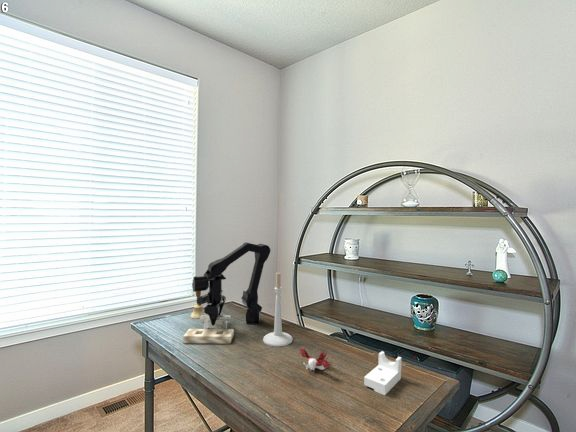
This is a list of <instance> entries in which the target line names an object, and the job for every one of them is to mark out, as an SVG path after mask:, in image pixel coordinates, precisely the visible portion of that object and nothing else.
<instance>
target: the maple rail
mask: <svg viewBox="0 0 576 432" xmlns="http://www.w3.org/2000/svg"><path fill="white" fill-rule="evenodd" d="M234 333H235V331H234V328H227V329H223V328H208V329H204V328H189V329H187V331H186V332H185V333H184V335H183V336H182V338H183V339H182V341H183V344H224V345H225V344H226V345H228V344H229V345H230V344H231V343H232V341H233V338H234V336H235V335H234Z"/></svg>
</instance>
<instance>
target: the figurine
mask: <svg viewBox="0 0 576 432" xmlns="http://www.w3.org/2000/svg"><path fill="white" fill-rule="evenodd" d="M299 354H300V355H301V356H302V357H303V358H306V359H307V361H308V362H307V363H308V364H307V363H305V362H303V365H304V366H305V367H306V368H305V369H306V370H308V369H310V370H309V371H310V372H311V371H313V372H312V374H314V372H315V371H314V370H315V369H319V370H320V371H322V370H325V369H327V368H330V366H332V364H333V363H334V362H332V361H328V360H329V356H327V354H328V352H326V353H325V351H322V350H320V352H319V355H318V357H317V358H314V357H312V356H311V355H309V354H308V352H307V350H306V345H303V347H300V349H299ZM306 370H305V371H306Z"/></svg>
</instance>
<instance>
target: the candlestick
mask: <svg viewBox="0 0 576 432" xmlns="http://www.w3.org/2000/svg"><path fill="white" fill-rule="evenodd" d="M281 275H282V273H281V272H276V273H275V287H274V288H273V289H274V290H275V291H274V292H275V305H274V306H275V308H274V325H273V326H274V327H273V332H269V333H267V334H265V336H263V339H262V342H263V343H264V344H266V345H267V346H269V347H270V346H271V347H278V348H279V347H285V346H288V345H290V344H292V342H293V340H294V339H293V336H291V335H290V334H289V333H287V332H284V331H283V327H282V326H283V325H282V321H283V320H282V304H281V301H282V300H281V293H282V289H283V287H281V282H282V281H281V279H282V277H281Z"/></svg>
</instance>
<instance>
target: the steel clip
mask: <svg viewBox="0 0 576 432" xmlns="http://www.w3.org/2000/svg"><path fill="white" fill-rule="evenodd" d="M231 318H232V317H231V315H230V314H229V315H228V314H220V315H218V317H217V320H216V321H222V329H228V321H231ZM199 321H203V329H209V321H211V320H210V317H209V315H208V314H206V315H201V316H200V318H199Z"/></svg>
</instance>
